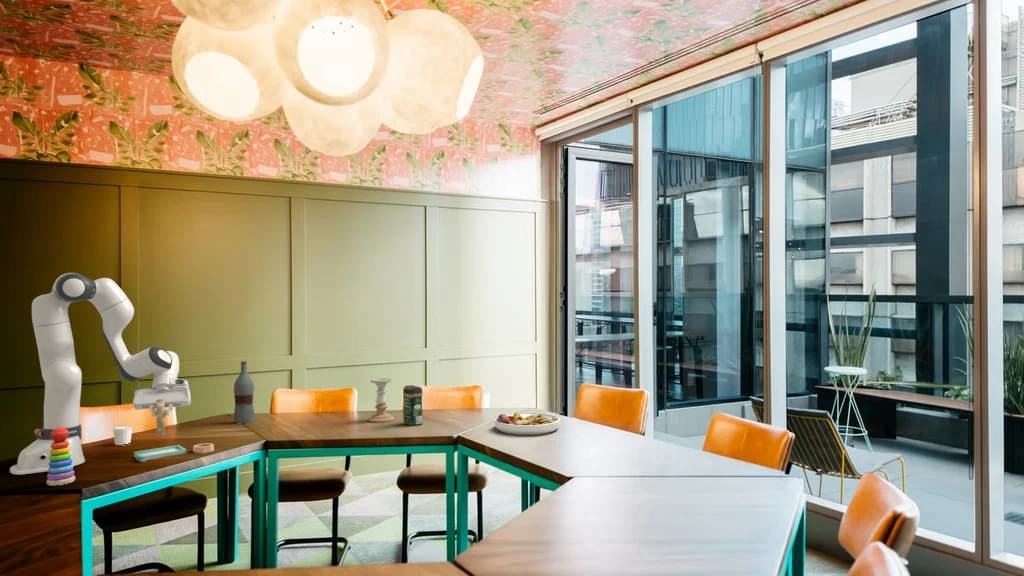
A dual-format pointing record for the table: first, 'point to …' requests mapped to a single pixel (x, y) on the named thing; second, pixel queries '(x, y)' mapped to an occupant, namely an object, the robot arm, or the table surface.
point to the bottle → (243, 397)
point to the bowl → (527, 423)
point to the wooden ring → (203, 448)
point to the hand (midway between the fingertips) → (160, 415)
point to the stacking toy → (60, 459)
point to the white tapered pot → (122, 435)
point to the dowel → (160, 417)
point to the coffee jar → (412, 405)
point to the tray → (159, 453)
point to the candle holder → (381, 402)
